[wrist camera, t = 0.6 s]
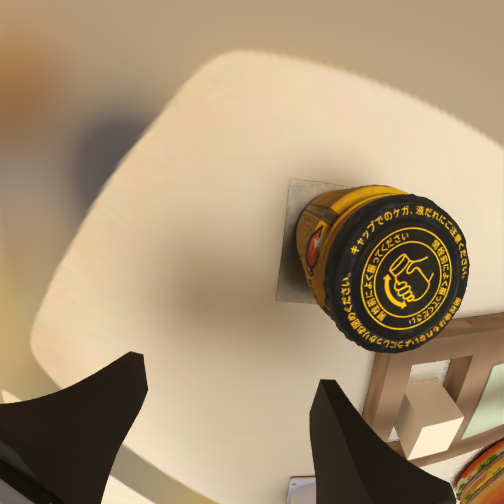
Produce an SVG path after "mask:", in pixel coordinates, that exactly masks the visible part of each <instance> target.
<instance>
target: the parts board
mask: <svg viewBox="0 0 504 504" xmlns="http://www.w3.org/2000/svg"><path fill="white" fill-rule="evenodd" d="M448 359H451V362H450V366H449V369H448V372H447V375H446V378H445V381H444V384H443V387H444V388H445V390H446V391H447V393H448V394H449V395H450V397H451V398H452V400H453V401H454V402H455V404H456V405H457V407H458V408H459V410H460V411H461V413H462V414H463V415H464V419H463V421H462V423H461V425H460V427H459V429H458V431H457V433H456V435H455V437H454V439H453V440H452V442H451V444H450V446H449V448H448V449H447V450H446V451H442V452H439V453H435V454H431V455H428V456H424V457H420V458H415V459H411V460H408V461H409V462H411V463H412V464H414V465H415V466H417V467H422V466H426V465H430V464H433V463H437V462H440V461H443V460H447V459H450V458H453V457H456V456H459V455H462V454H465V453H468V452H470V451H473V450H476V449H478V448H481V447H483V446H486V445H488V444H490V443H493V442H495V441H497V440H500V439H502V438H503V437H504V313H498V314H491V315H484V316H477V317H469V318H461V319H452V320H450V322H449V323H448V325H447V326H445V328H444V329H443V330H442V331H441V332H440V333H439V334H438V335H437V336H436V337H434V338H433V339H431V340H430V341H428V342H427V343H425V344H424V345H422V346H420V347H419V348H416V349H414V350H409V351H406V352H401V353H396V354H393V353H379V352H376V356H375V362H374V367H373V372H372V376H371V381H370V385H369V390H368V394H367V398H366V402H365V406H364V410H363V414H362V418H363V419H364V420H365V422H366V423H367V424H368V425H369V426H370V427H371V428H372V430H373V431H374V432H375V433H376V434H377V435H378V436H379V437H380V438H381V439H382V440H383V441H384V442H385V443H386V444H388V445H389V446H390V447H391V448H392V449H393V450H394V451H396V452H397V453H398V454H400V455H401V456H402V457H404V458H405V459H406V460H407V458H406V456H405V453H404V450H403V448H402V445H401V443H400V441H395V442H389V443H387V441H388V439H389V436H390V434H391V431H392V428H393V426H394V423H395V420H396V417H397V414H398V411H399V408H400V405H401V402H402V399H403V396H404V393H405V389H406V386H407V382H408V379H409V375H410V371H411V368H412V365H415V364H422V363H429V362H436V361H442V360H448Z"/></svg>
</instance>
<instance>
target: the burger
mask: <svg viewBox="0 0 504 504" xmlns="http://www.w3.org/2000/svg"><path fill="white" fill-rule="evenodd" d="M456 496H457V498H456V499H458V500H459V501H460V504H504V440H502V441H501V442H499V443H497V444H496V445H494V446H493V447H491V448H490V449H489V450H487V451H486V452H485V453H484V454H482V455H481V456H480V457H479V458H478V459H477V460H475V461H474V462H473V463H472V464H471V465H470V466H469V467H468V468H467V469H466V471H465V472H464V473H463V474H462V475H461V477H460V479H459V481H458V484H457V492H456Z"/></svg>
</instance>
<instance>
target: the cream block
mask: <svg viewBox="0 0 504 504" xmlns="http://www.w3.org/2000/svg"><path fill="white" fill-rule="evenodd" d="M463 419H464V415H463V414H462V413H461V411H460V410H459V408H458V407H457V405H456V404H455V402H454V401H453V400H452V398H451V397H450V395H449V394H448V393H447V391H446V390H445V388H444V387H443V386H442V384H441V383H440V382H439V380H438V379H431V380H425V381H419V382H412V383H407V386H406V389H405V393H404V396H403V399H402V402H401V405H400V408H399V411H398V414H397V417H396V420H395V423H394V427H395V430H396V432H397V435H398V437H399V440H400V443H401V445H402V448H403V450H404V453H405V456H406V458H407V460H411V459H415V458H420V457H424V456H428V455H431V454H435V453H439V452H442V451H446V450H447V449H448V448H449V446H450V444H451V442H452V440H453V439H454V437H455V435H456V433H457V431H458V429H459V427H460V425H461V423H462V421H463Z"/></svg>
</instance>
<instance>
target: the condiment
mask: <svg viewBox="0 0 504 504" xmlns="http://www.w3.org/2000/svg"><path fill="white" fill-rule="evenodd" d="M299 259H300V260H299ZM469 266H470V264H469V259H468V254H467V248H466V240H465V237H464V235H463V233H462V231H461V229H460V228H459V226H458V225H457V223H456V222H455V221H454V220H453V219H452V218H451V216H450V215H449V214H448V213H447V212H445V211H444V210H443V209H441V208H440V207H439V206H437V205H436V204H435V203H434V202H433V201H432V200H429V199H428V198H425V197H420V196H416V195H414V194H408V193H406V192H403V191H401V190H398V189H396V188H393V187H389V186H383V185H371V186H360V187H356V188H354V187H347V186H340V185H334V184H327V183H320V182H312V181H305V180H296V179H290V183H289V193H288V202H287V212H286V221H285V230H284V239H283V247H282V256H281V264H280V272H279V280H278V288H277V296H276V301H288V302H299V303H309V304H318V305H319V306H320V307H321V308H322V309H323V311H324V312H325V313H326V314H327V315H328V316H329V317H331V319H332V320H333V321H335V323H336V326H337V327H338V329H339V330H340V331H341V332H343V333H344V335H345V337H346V338H347V339H349V340H350V341H354V342H355V343H356V344H357V345H358V346H361V347H363V348H364V349H366V350H369V351H374V352H379V353H393V354H396V353H401V352H406V351H409V350H414V349H416V348H419V347H420V346H422V345H424V344H425V343H427V342H428V341H430V340H431V339H433V338H434V337H436V336H437V335H438V334H439V333H440V332H441V331H442V330H443V329H444V328H445V326H447V325H448V323H449V322H450V320H451V319H452V317H453V316H454V314H455V313H456V311H457V310H458V309H459V307H460V305H461V302H462V299H463V297H464V294H465V291H466V287H467V281H468V275H469Z"/></svg>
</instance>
